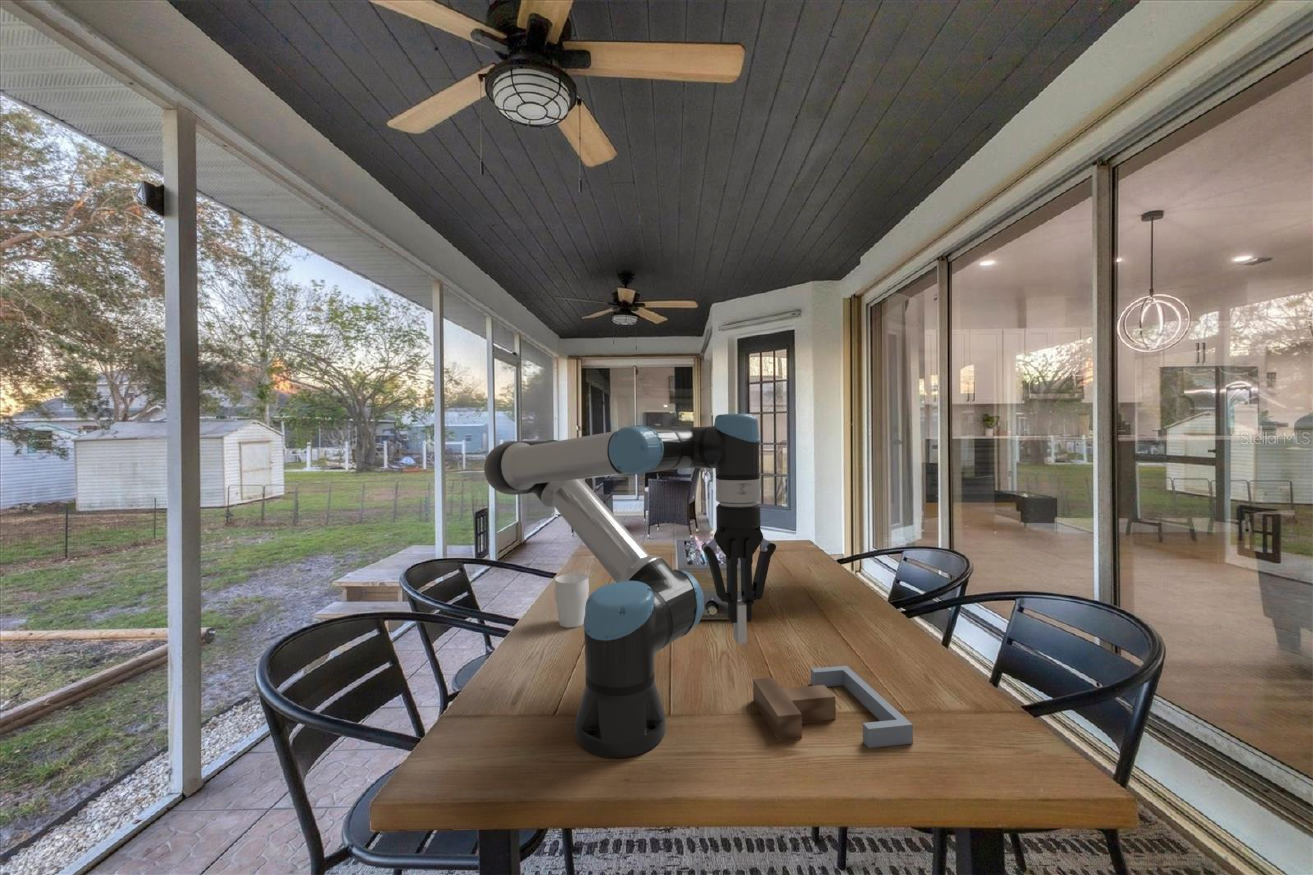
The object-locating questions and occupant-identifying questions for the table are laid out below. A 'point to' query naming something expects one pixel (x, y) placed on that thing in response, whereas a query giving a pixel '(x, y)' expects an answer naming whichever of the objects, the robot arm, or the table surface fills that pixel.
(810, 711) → the walnut T
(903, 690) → the table surface
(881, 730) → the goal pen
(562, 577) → the cup
